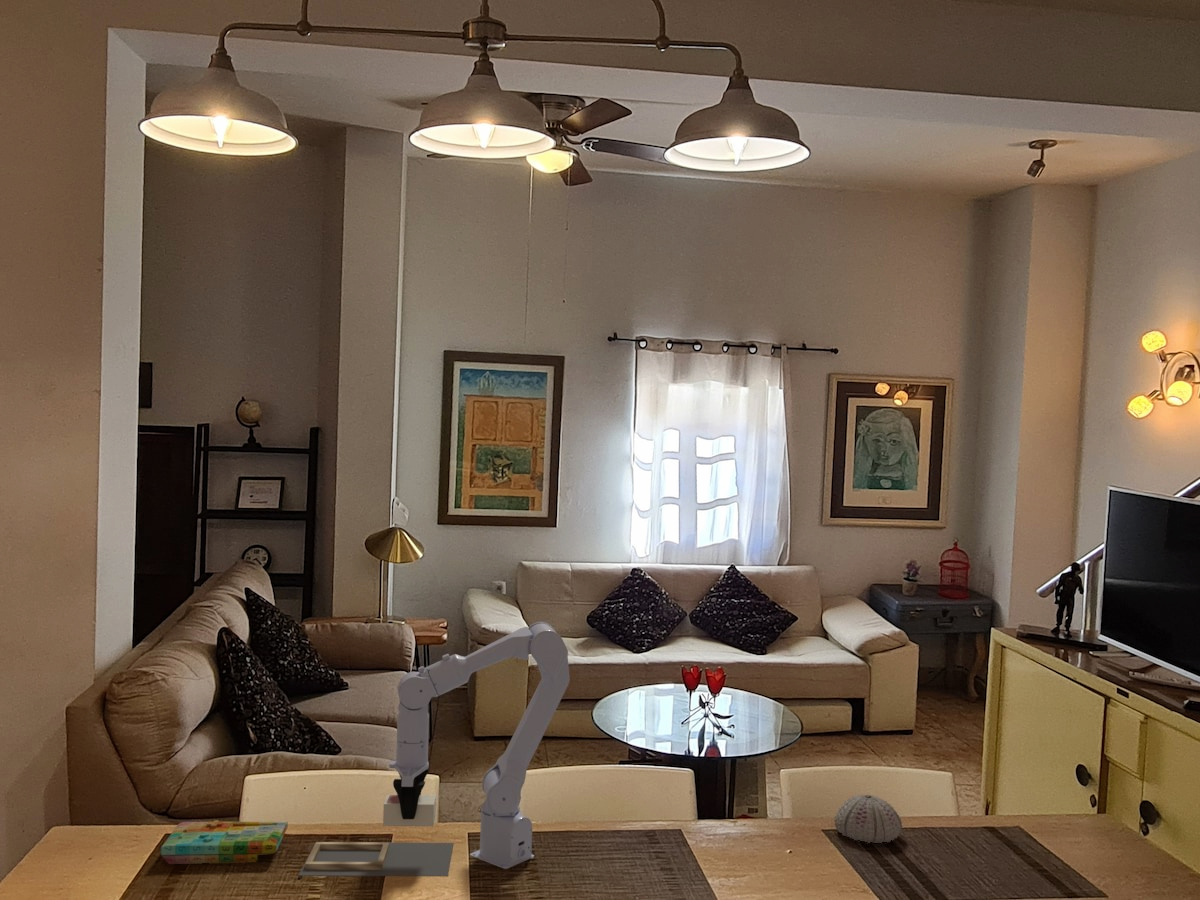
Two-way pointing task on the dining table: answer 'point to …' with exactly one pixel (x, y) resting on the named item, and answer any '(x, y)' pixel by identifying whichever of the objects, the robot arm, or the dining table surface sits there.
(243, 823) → the puzzle game
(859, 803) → the sea urchin shell
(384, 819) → the card box
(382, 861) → the frame
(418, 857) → the mat
